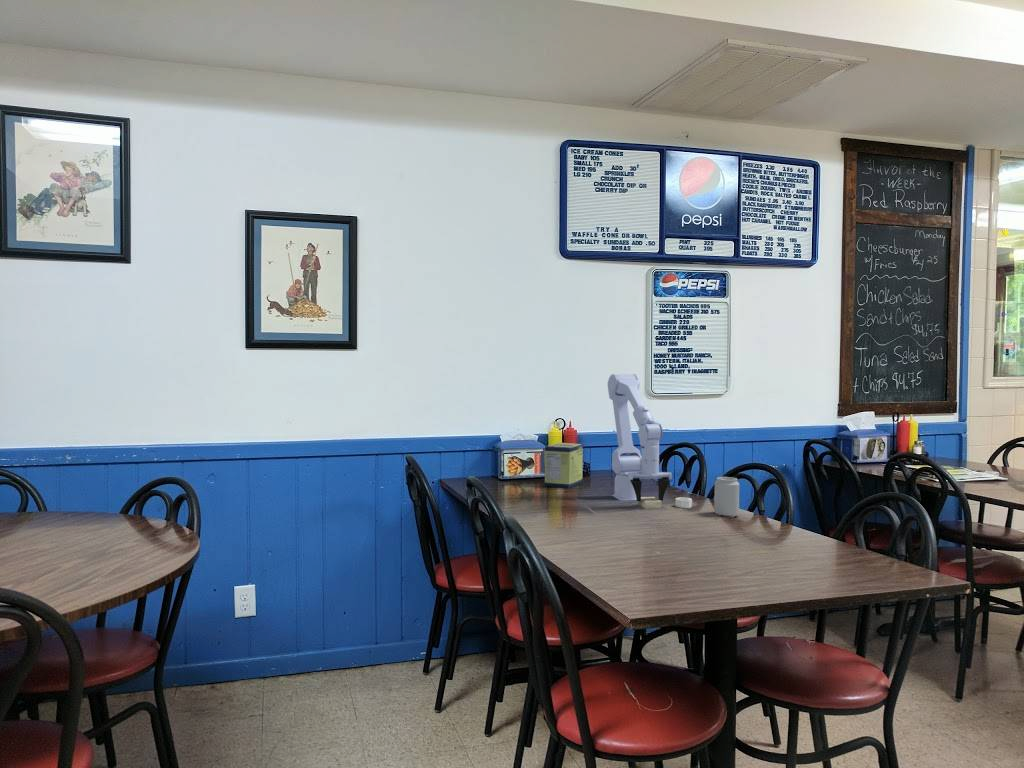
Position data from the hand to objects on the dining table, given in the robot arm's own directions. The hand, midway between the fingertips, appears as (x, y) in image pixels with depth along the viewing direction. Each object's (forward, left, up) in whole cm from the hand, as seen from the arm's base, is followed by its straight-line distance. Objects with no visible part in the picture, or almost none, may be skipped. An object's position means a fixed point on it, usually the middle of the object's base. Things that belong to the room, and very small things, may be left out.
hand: (649, 500), depth 248 cm
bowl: (+1, +11, -3) cm, 12 cm away
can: (+14, +20, -3) cm, 25 cm away
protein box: (-49, -18, -3) cm, 52 cm away
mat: (-1, 0, -3) cm, 3 cm away
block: (0, 0, -2) cm, 2 cm away
